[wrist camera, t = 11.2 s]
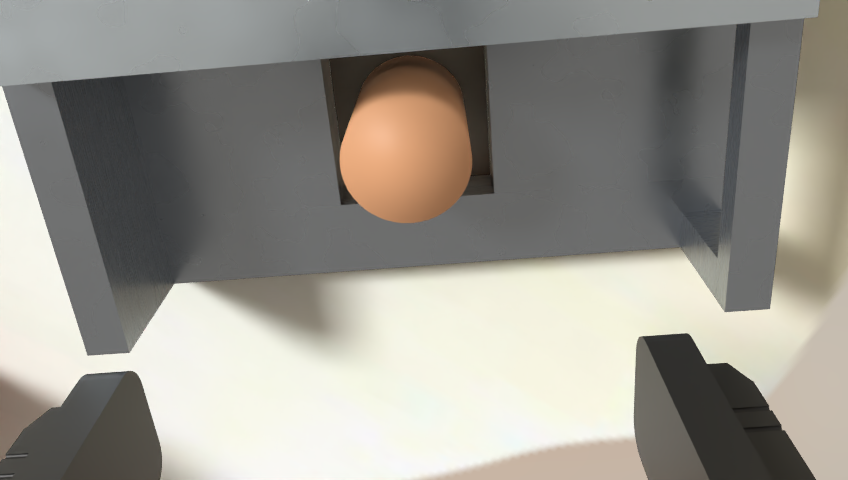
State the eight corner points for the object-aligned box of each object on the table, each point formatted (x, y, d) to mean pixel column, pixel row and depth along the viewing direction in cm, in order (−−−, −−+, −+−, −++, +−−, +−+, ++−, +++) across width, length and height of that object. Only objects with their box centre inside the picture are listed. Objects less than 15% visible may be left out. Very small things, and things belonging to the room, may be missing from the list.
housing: (21, -255, 24) (-122, -304, 18) (740, -330, 23) (854, -409, 17) (155, 262, 31) (87, 355, 25) (701, 223, 30) (770, 308, 24)
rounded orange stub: (350, 60, 28) (331, 102, 22) (460, 51, 28) (468, 91, 22) (363, 164, 30) (348, 227, 24) (467, 156, 29) (476, 218, 24)
